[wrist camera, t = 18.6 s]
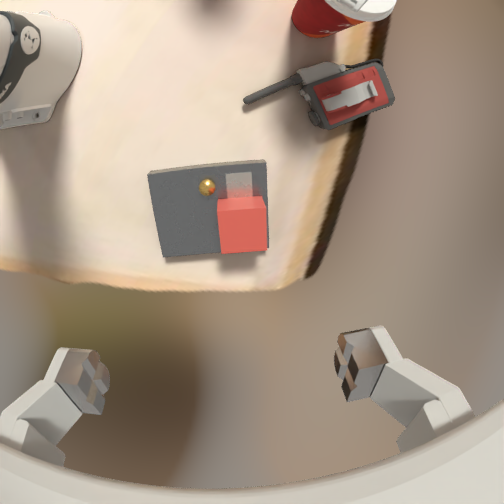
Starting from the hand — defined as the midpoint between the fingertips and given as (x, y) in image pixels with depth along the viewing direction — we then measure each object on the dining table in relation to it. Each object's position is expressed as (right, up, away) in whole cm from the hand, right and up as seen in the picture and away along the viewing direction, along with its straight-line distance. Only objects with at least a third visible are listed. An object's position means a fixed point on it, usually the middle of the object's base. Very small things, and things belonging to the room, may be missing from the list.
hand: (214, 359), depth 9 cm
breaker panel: (-4, +10, +30) cm, 32 cm away
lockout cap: (0, +8, +29) cm, 30 cm away
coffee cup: (+9, +34, +18) cm, 39 cm away
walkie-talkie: (+10, +24, +24) cm, 36 cm away
